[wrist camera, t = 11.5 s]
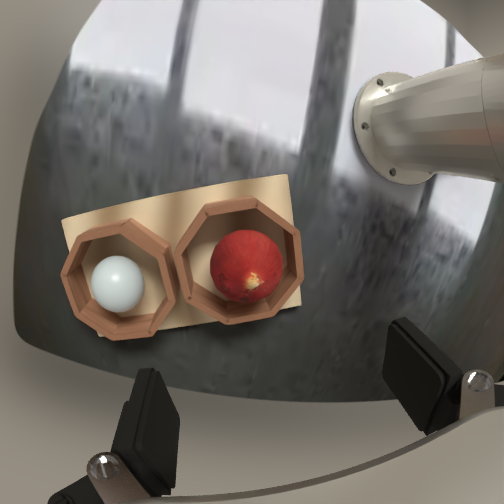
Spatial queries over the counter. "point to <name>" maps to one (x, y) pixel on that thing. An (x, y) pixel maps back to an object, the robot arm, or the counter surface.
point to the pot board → (181, 255)
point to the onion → (246, 266)
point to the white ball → (117, 283)
